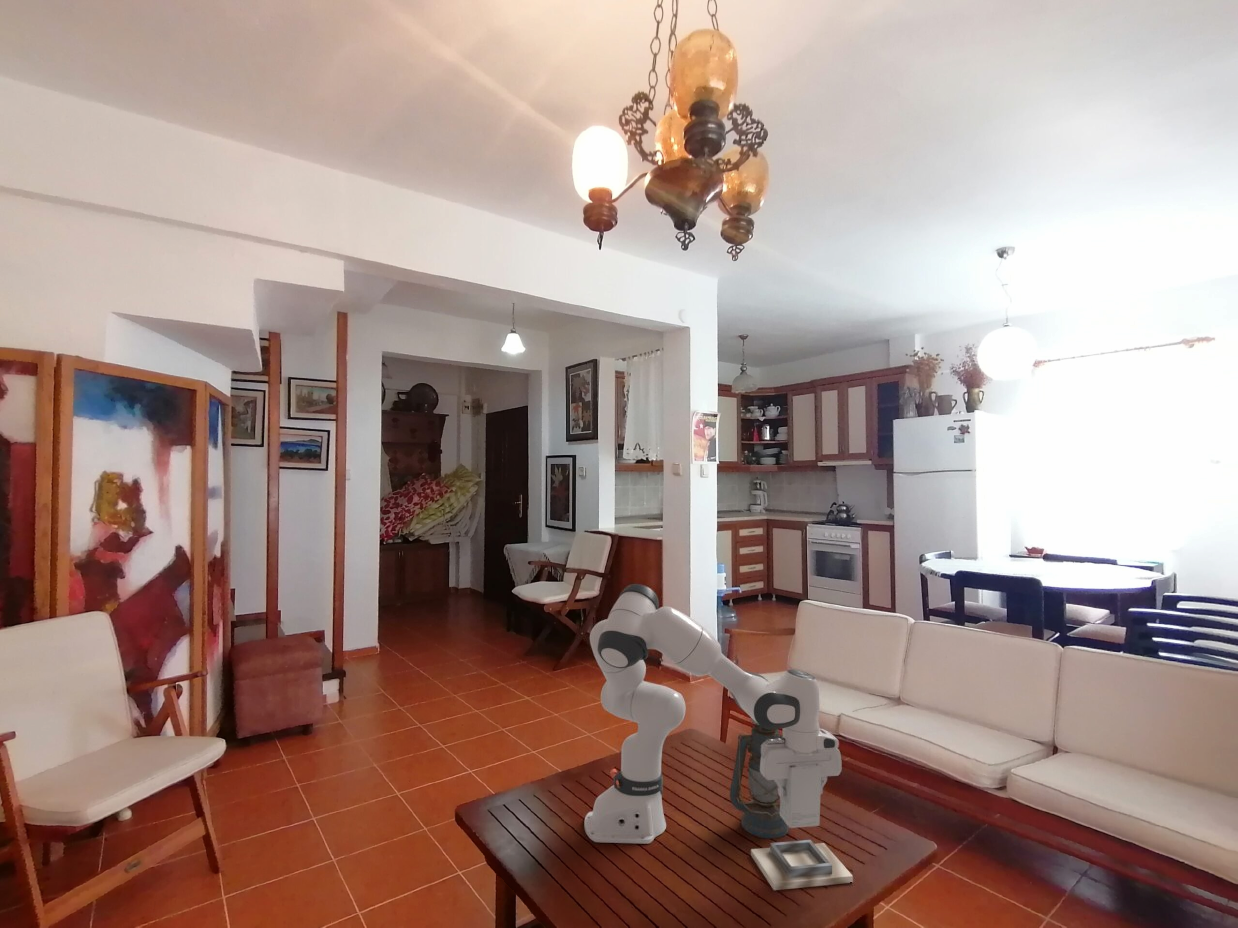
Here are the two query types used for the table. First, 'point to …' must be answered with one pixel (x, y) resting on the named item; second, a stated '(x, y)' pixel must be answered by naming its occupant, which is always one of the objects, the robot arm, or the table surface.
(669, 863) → the table surface
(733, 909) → the table surface
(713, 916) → the table surface
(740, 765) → the lantern
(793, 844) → the board
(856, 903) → the table surface
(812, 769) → the skincare box
